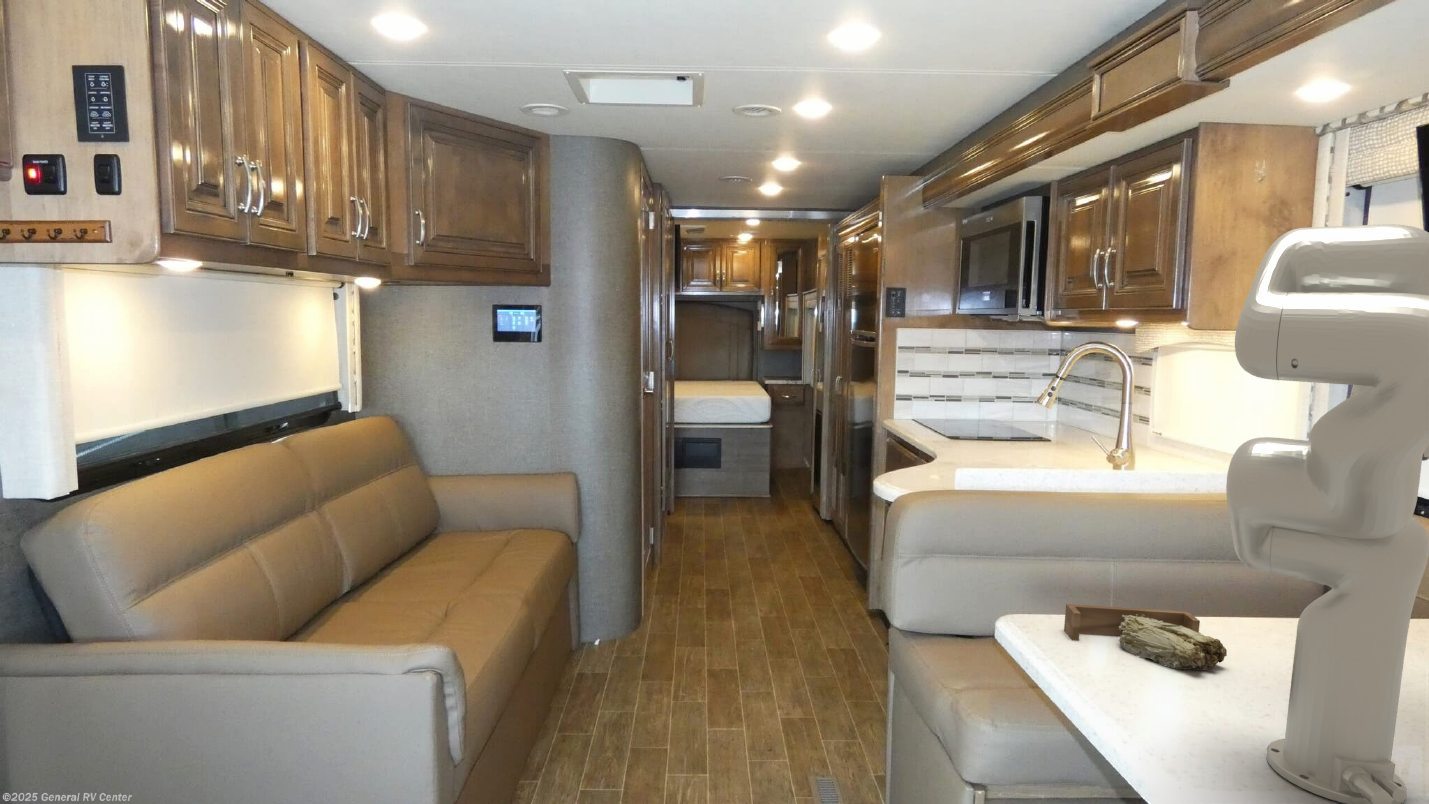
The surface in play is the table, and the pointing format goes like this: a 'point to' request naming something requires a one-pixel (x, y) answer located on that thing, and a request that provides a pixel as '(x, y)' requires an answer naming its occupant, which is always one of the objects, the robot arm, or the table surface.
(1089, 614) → the stand
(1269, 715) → the table surface
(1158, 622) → the beige fibrous lump
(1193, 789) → the table surface
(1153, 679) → the table surface
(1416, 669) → the table surface
